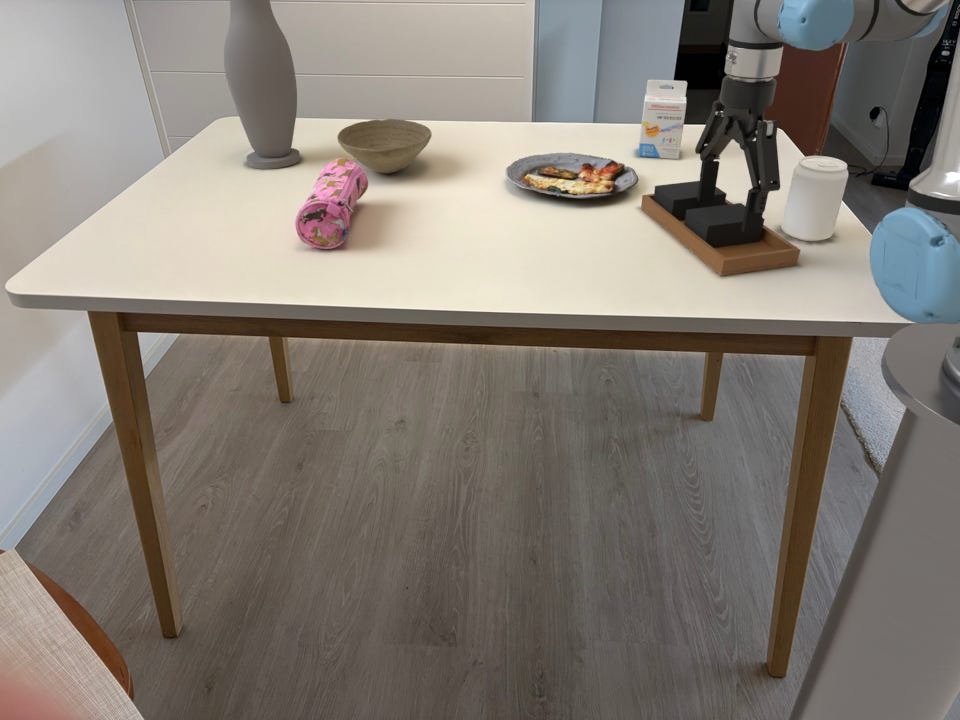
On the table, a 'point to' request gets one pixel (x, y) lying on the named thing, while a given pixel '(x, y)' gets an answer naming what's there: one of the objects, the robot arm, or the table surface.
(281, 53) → the vase
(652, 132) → the ink box
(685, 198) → the pad
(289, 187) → the table surface
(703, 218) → the black pad
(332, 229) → the pencil case
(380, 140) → the bowl
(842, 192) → the beverage can
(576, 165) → the food plate
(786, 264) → the tray
